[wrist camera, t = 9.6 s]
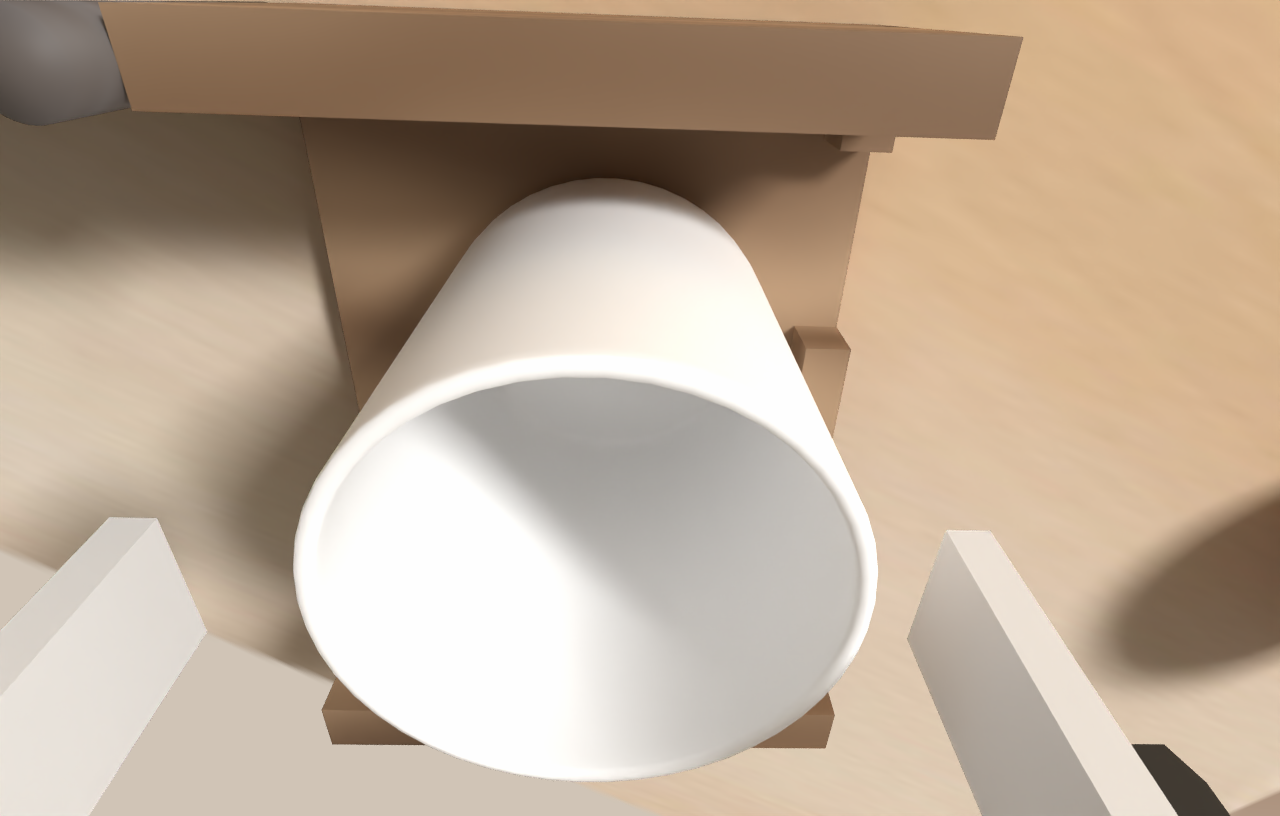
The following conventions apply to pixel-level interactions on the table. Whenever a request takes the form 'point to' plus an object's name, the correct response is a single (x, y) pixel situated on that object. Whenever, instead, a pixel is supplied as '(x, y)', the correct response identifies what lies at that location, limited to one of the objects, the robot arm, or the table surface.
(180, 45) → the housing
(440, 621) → the mug
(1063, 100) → the table surface
